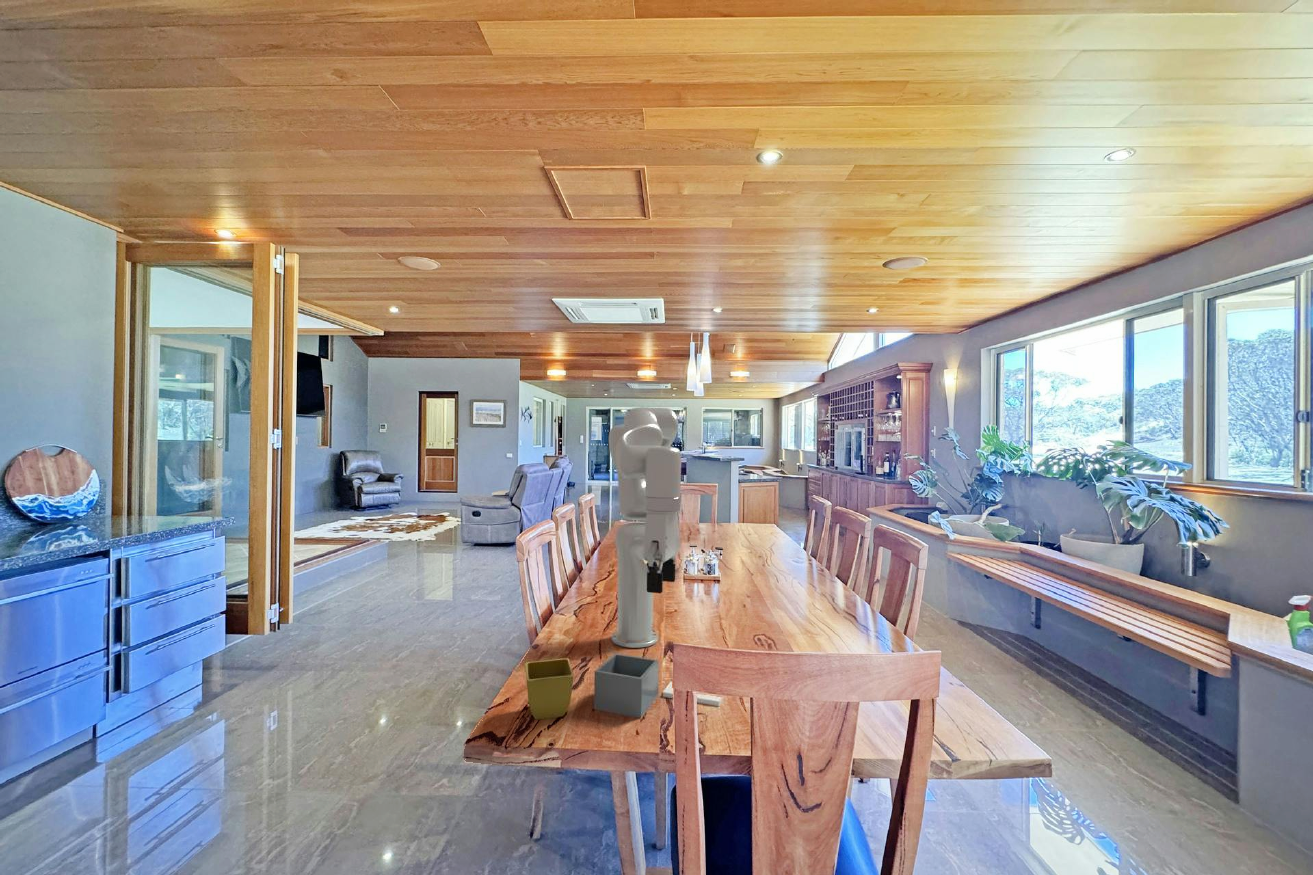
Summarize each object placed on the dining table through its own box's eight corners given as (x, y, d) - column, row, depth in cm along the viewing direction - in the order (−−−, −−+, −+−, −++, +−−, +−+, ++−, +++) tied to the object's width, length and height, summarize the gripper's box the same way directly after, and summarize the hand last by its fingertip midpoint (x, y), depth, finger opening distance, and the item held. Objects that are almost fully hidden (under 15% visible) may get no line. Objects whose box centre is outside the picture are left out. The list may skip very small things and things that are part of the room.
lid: (679, 677, 126) (679, 652, 126) (730, 685, 122) (731, 659, 122) (662, 700, 114) (663, 672, 115) (719, 710, 111) (719, 681, 111)
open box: (614, 690, 118) (614, 653, 118) (658, 698, 115) (658, 660, 115) (593, 711, 109) (594, 671, 109) (641, 720, 105) (641, 679, 105)
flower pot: (525, 728, 102) (526, 679, 102) (524, 706, 110) (524, 661, 111) (573, 722, 104) (574, 675, 104) (568, 701, 113) (568, 657, 113)
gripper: (657, 500, 125) (656, 576, 125) (632, 508, 109) (630, 595, 108) (689, 502, 123) (688, 578, 123) (668, 510, 106) (667, 599, 106)
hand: (661, 586), depth 116 cm, fingers open, 9 cm apart
